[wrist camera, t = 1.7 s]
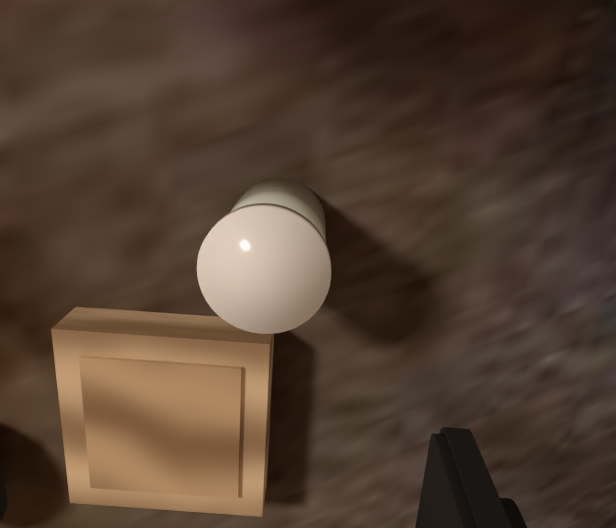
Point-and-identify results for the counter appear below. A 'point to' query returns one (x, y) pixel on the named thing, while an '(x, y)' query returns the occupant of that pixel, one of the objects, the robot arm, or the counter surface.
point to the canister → (267, 259)
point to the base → (164, 410)
